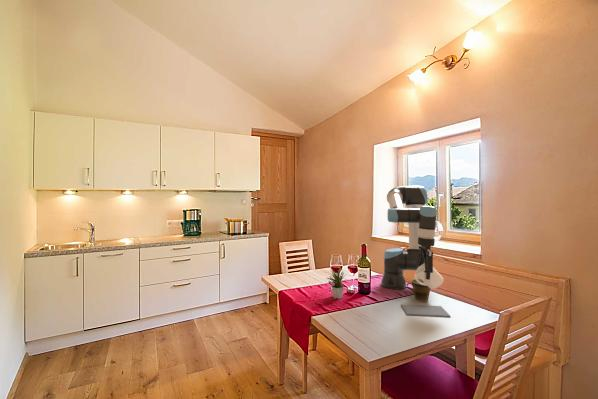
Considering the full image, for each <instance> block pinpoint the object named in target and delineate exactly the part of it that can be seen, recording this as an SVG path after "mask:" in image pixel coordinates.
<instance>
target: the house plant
mask: <svg viewBox="0 0 598 399" xmlns="http://www.w3.org/2000/svg"><path fill="white" fill-rule="evenodd" d="M328 270H329V271H330V272H331V273H329V272H328V275H329V276H328V277H326V278H325V279H326V280H328V281H327V283H328V284H332V285H331V288H330V289H331V293H332V297H334V298H333V299H336V298H338V299H342V298H343V294H344V289H345V288H344V287H345V286H344V284H343V282H344V280H343V278H344V275H345V274H344V273H345V271H344V270H342V268H341V267H340V268H339V269H338V270H337V273H336V272H335V271H334V270H332V269H330V268H328ZM324 273H326V274H327V272H324ZM345 281H348V279H345Z"/></svg>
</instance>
